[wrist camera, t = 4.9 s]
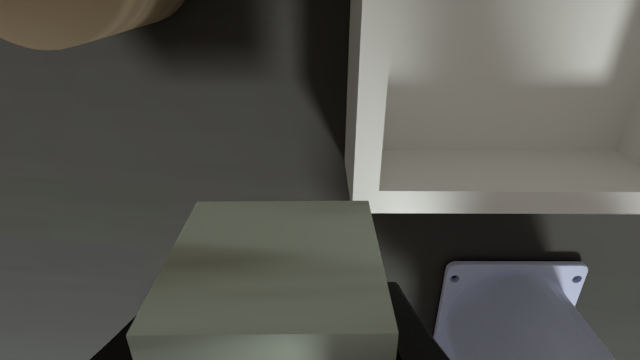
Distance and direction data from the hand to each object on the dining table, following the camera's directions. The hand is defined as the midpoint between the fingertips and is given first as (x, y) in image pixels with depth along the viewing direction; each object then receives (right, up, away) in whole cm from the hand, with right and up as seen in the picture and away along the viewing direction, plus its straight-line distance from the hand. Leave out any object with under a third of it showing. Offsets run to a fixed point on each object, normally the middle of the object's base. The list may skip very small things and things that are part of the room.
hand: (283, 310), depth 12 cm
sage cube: (0, +1, +2) cm, 2 cm away
